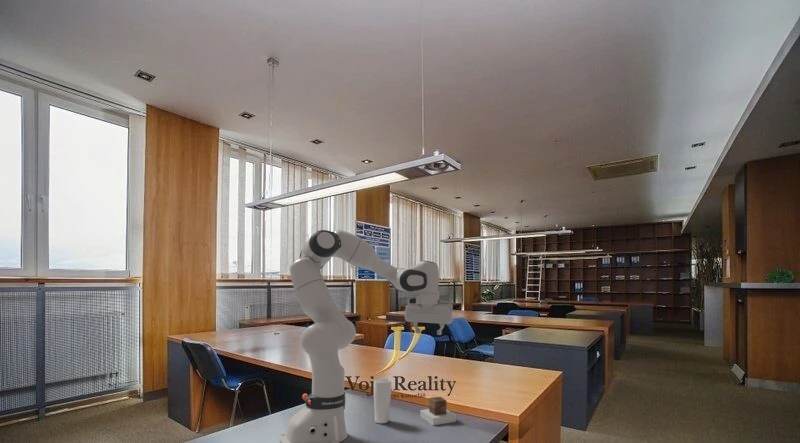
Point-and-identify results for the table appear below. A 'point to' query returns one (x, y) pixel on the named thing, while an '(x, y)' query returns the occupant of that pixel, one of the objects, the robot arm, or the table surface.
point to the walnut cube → (437, 405)
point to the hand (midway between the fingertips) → (428, 333)
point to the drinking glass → (382, 399)
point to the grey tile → (437, 417)
